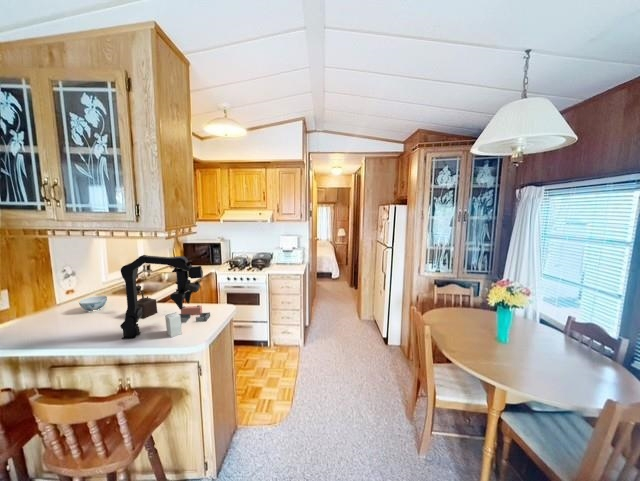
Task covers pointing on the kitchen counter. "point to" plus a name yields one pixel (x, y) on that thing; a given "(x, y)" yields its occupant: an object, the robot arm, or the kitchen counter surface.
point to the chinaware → (93, 303)
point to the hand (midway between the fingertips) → (184, 306)
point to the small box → (173, 324)
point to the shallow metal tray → (202, 317)
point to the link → (191, 310)
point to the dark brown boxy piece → (146, 304)
